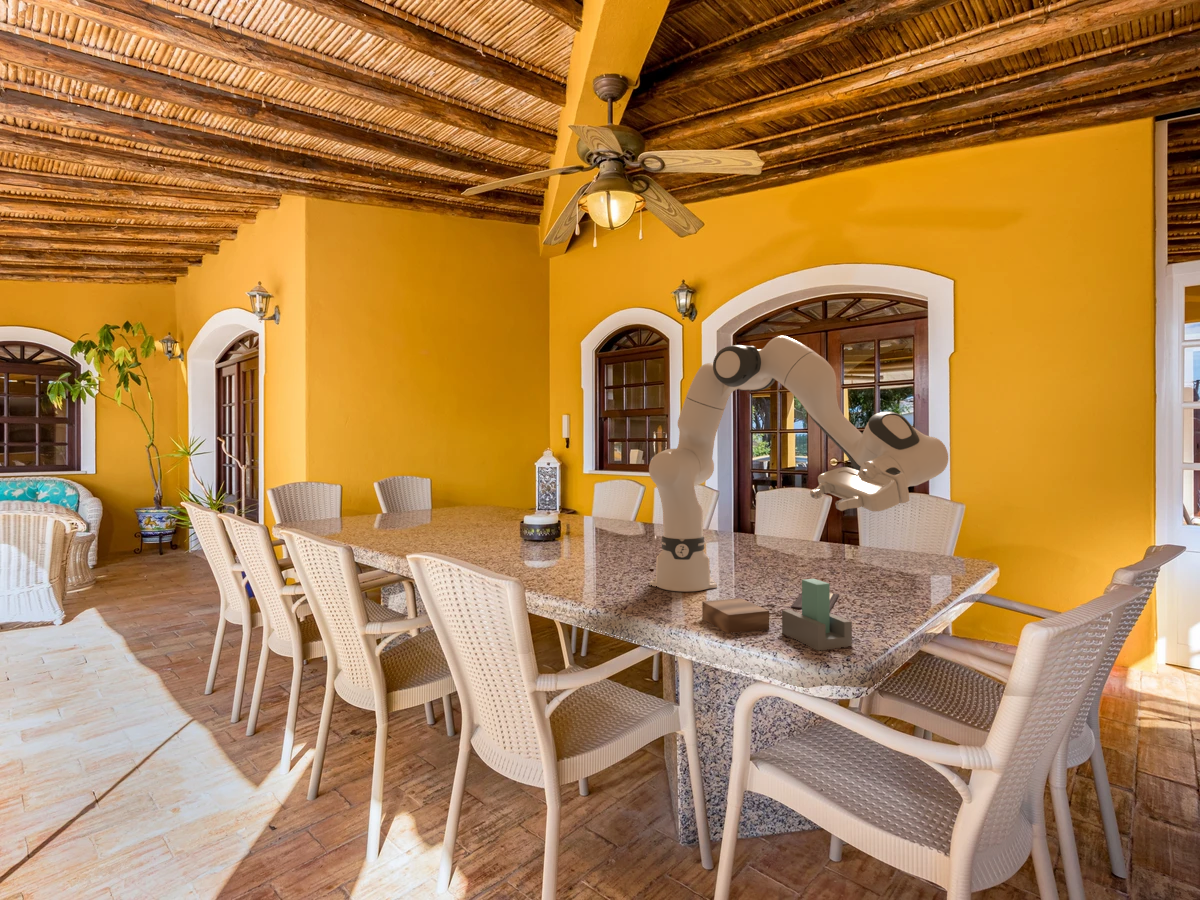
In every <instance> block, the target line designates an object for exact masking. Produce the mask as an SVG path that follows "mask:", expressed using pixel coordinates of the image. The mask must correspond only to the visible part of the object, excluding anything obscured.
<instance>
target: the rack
mask: <svg viewBox="0 0 1200 900" xmlns="http://www.w3.org/2000/svg"><path fill="white" fill-rule="evenodd" d="M852 623H853V622H852V621H851V620H849V619H847V618H844V617H841V616H839V615H837V614H834V613H831V612H830V633H826V629H825V624H823V623H821V622H818V621H816V620H814V619H811V618H809V617H807V616H804V615H802V613H799V612H797V611H794V610H793V609H792V610H791V608H790V609H789V608H788V609H781V633H782V634H783V635H785V636H787V635H788V636H787V637H789V636H790V637H789V638H791V637H792V638H791V639H793V638H794V640H795V639H796V640H795V641H797V640H798V641H797V642H799V641H800V642H799V643H801V642H802V643H801V644H803V643H804V644H803V645H805V644H806V646H807V645H808V646H807V647H809V646H810V648H812V649H813V650H816V651H817V650H818V651H819V652H820V650H821V651H827V649H828V650H834V649H835V648H836V649H841V647H844V648H849V647H848V646H851V647H853V624H852Z"/></svg>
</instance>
